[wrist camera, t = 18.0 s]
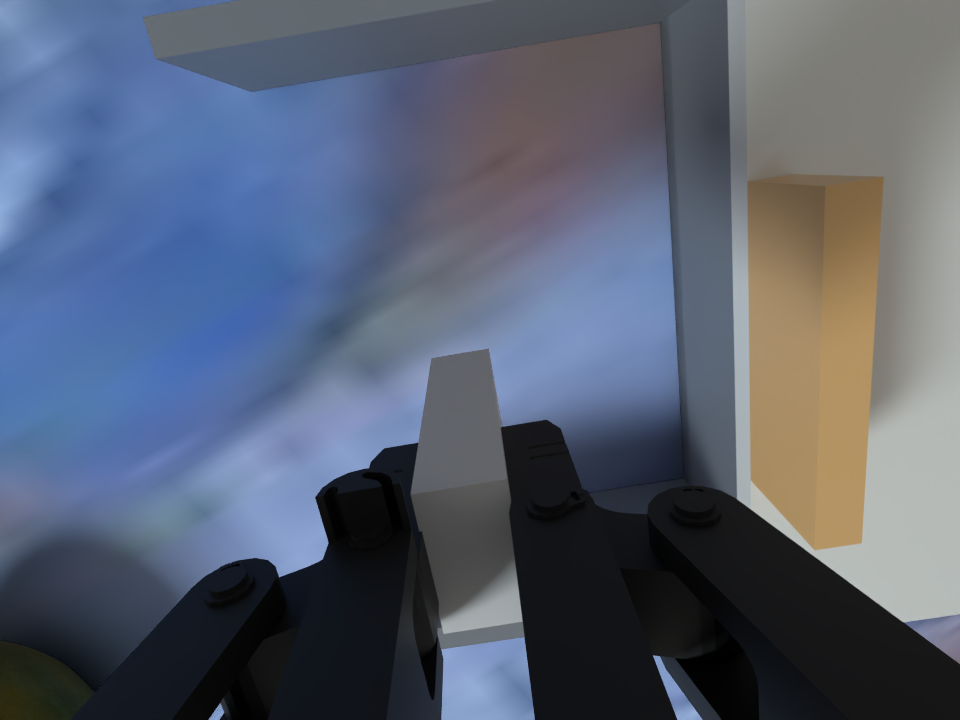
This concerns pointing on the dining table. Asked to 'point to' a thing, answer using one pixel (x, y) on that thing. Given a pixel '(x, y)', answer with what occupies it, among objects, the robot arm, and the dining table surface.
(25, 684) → the fruit
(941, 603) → the lid
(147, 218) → the dining table surface
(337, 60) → the housing
